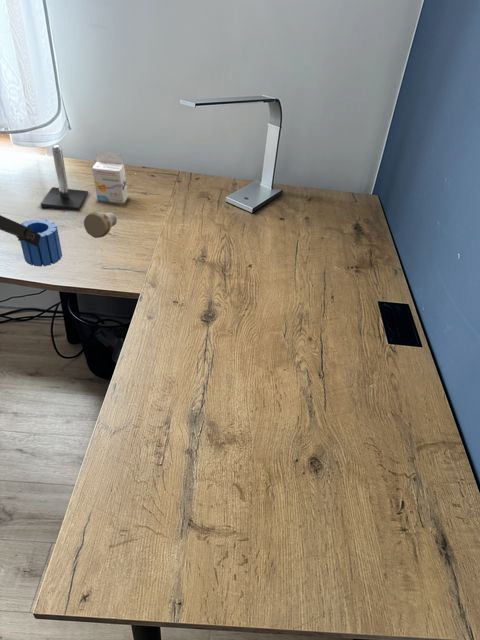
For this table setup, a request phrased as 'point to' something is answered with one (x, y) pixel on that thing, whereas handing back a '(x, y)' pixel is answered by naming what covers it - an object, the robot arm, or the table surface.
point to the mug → (99, 223)
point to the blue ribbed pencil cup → (42, 243)
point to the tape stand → (62, 188)
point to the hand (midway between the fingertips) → (13, 232)
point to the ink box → (110, 178)
